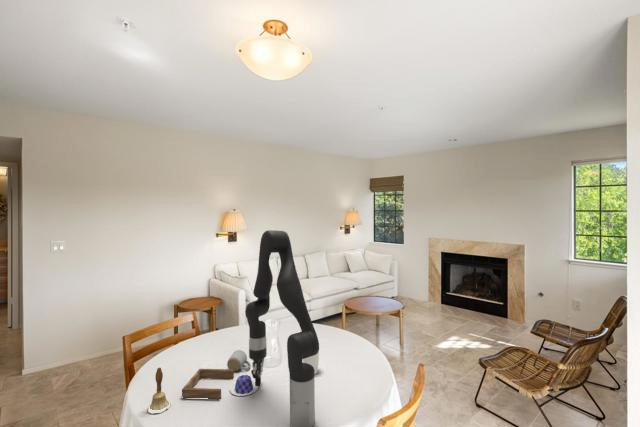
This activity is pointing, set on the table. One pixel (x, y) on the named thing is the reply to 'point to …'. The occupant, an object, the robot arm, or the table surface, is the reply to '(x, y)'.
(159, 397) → the hand bell
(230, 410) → the table surface
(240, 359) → the ceramic mug
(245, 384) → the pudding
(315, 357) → the white cup
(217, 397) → the corral
